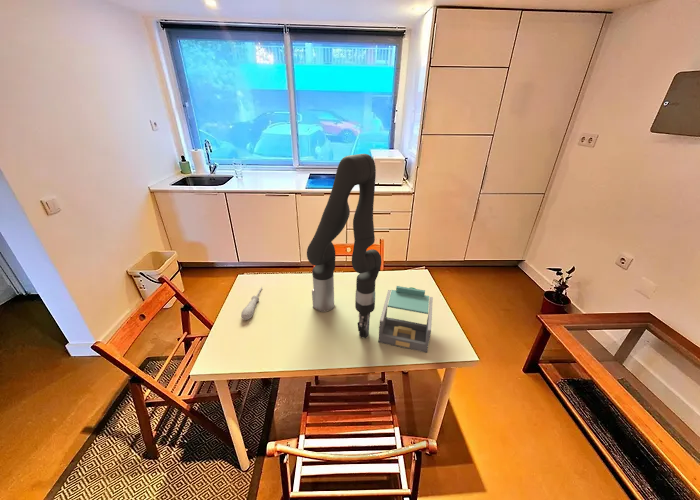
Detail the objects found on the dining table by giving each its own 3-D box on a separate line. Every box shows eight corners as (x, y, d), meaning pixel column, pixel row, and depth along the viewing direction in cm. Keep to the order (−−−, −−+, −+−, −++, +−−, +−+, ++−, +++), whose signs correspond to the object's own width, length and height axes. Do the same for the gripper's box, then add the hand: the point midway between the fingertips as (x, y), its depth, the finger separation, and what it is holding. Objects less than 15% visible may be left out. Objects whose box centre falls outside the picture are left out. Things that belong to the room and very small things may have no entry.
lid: (387, 306, 117) (388, 300, 116) (391, 291, 126) (392, 285, 125) (427, 314, 113) (429, 307, 112) (428, 297, 123) (430, 291, 121)
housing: (378, 342, 115) (379, 320, 109) (386, 310, 132) (388, 289, 127) (427, 353, 111) (431, 330, 105) (429, 318, 128) (432, 297, 122)
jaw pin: (358, 337, 118) (358, 320, 113) (360, 330, 121) (360, 313, 117) (367, 339, 117) (368, 322, 112) (369, 332, 120) (370, 315, 116)
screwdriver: (266, 291, 148) (267, 284, 146) (249, 323, 125) (250, 315, 123) (257, 289, 147) (257, 282, 146) (238, 321, 125) (239, 313, 123)
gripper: (360, 286, 117) (359, 318, 125) (350, 308, 105) (350, 342, 113) (378, 289, 115) (376, 321, 123) (371, 312, 103) (369, 346, 111)
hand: (364, 331), depth 118 cm, fingers closed on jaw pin, 4 cm apart
